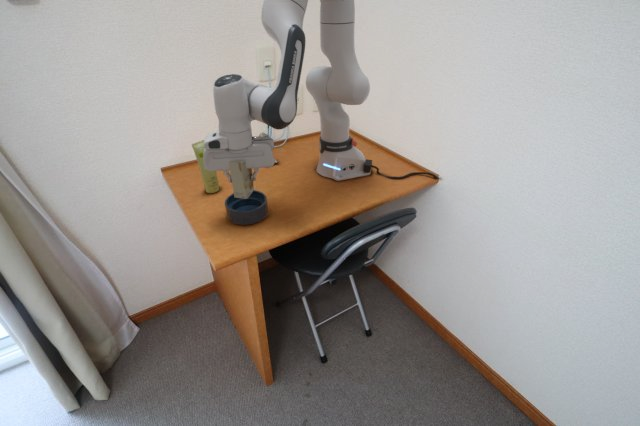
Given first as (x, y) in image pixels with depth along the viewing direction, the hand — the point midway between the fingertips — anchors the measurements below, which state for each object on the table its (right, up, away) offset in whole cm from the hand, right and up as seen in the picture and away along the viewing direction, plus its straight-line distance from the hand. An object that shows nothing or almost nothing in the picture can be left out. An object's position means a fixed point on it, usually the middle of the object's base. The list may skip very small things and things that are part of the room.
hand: (242, 180), depth 97 cm
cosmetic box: (0, -4, +3) cm, 5 cm away
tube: (-16, -2, +20) cm, 26 cm away
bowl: (0, -10, +7) cm, 13 cm away
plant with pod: (+1, +12, +40) cm, 42 cm away
